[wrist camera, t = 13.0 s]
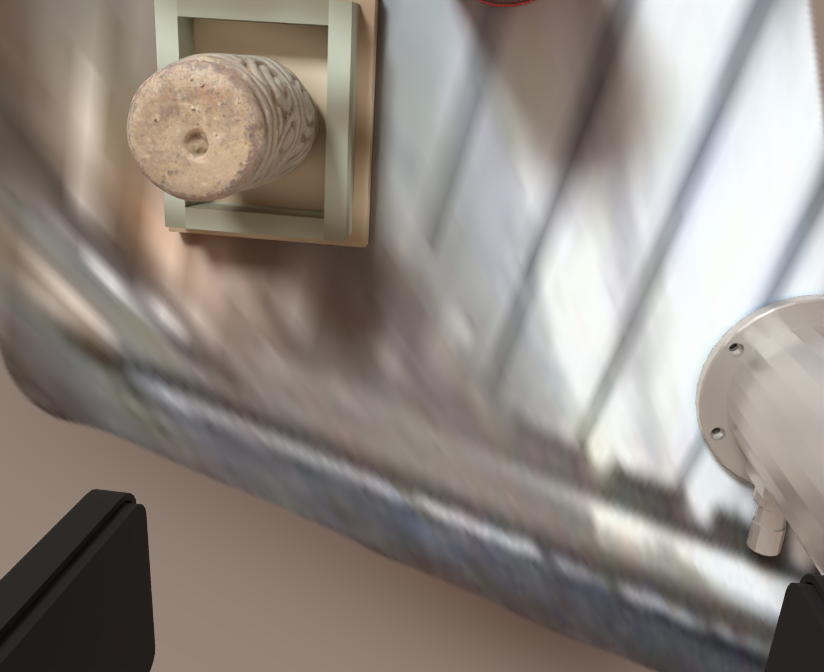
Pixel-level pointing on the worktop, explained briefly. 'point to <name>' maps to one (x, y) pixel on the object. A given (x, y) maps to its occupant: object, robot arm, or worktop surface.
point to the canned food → (505, 2)
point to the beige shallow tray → (335, 102)
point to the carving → (220, 125)
